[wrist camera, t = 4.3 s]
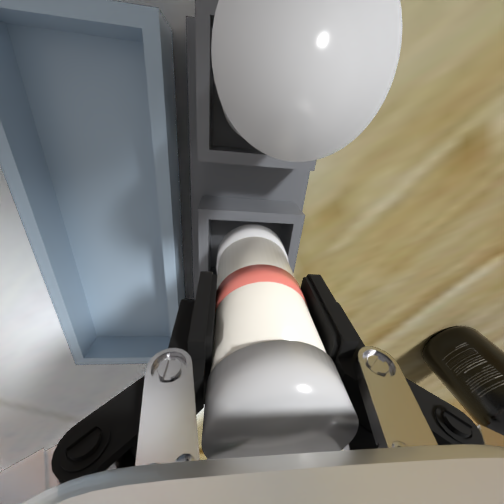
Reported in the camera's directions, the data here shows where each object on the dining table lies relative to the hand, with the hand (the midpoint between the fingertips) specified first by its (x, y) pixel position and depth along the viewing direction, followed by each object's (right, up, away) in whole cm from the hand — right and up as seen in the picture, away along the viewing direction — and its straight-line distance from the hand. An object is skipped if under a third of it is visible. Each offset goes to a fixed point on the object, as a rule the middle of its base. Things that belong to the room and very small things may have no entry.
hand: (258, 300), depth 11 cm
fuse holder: (-1, +4, +8) cm, 9 cm away
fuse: (0, +11, +3) cm, 12 cm away
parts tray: (-10, +4, +7) cm, 13 cm away
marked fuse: (0, +2, +4) cm, 4 cm away
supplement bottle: (+24, -9, +18) cm, 31 cm away
